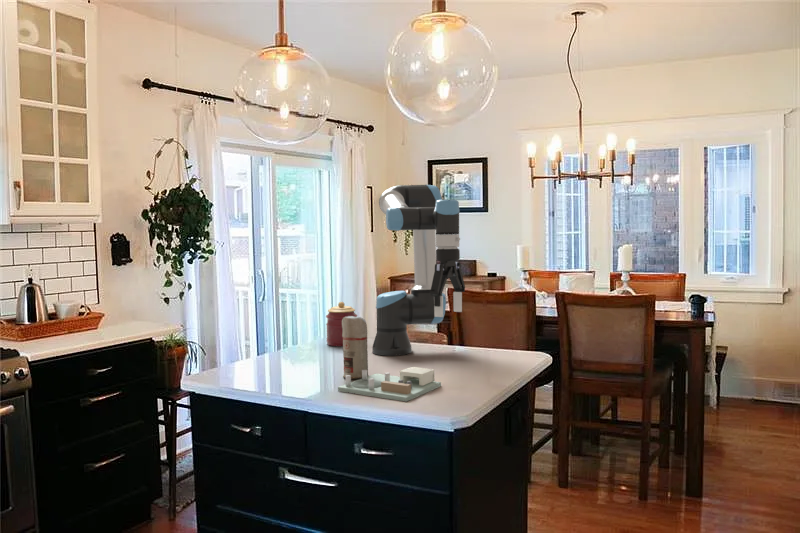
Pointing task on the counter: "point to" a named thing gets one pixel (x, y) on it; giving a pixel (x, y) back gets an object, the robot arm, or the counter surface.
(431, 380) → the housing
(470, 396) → the counter surface
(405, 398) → the board
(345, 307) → the canister
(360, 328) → the spray can
